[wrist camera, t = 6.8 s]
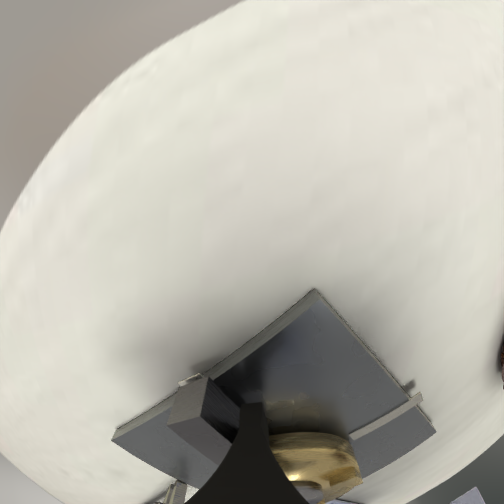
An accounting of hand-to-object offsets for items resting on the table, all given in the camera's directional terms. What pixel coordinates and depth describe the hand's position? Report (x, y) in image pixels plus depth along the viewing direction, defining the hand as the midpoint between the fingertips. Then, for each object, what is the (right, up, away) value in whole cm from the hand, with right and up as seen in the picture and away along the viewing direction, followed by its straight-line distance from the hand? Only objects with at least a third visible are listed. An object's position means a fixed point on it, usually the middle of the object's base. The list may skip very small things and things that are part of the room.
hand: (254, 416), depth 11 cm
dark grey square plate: (+2, -6, +4) cm, 8 cm away
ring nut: (+1, -5, +2) cm, 5 cm away
